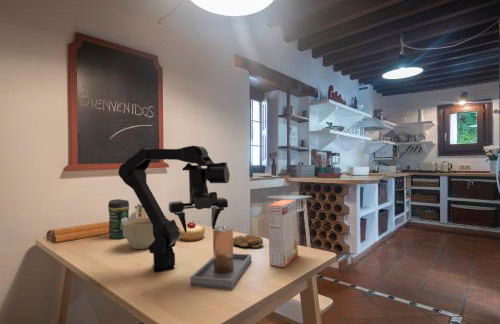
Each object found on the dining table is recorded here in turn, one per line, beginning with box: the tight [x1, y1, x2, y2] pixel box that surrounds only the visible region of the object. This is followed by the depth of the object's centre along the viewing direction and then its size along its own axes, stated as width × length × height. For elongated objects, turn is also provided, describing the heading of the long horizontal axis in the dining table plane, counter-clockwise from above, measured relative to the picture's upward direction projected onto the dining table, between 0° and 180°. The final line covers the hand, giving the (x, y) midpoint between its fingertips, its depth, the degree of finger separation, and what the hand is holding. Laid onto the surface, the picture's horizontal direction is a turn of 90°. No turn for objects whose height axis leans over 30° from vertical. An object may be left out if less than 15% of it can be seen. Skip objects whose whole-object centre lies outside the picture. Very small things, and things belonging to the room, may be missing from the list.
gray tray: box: [190, 252, 252, 291], centre depth 90 cm, size 13×22×2 cm, turn 166°
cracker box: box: [267, 198, 299, 268], centre depth 100 cm, size 14×6×21 cm, turn 152°
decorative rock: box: [233, 234, 264, 250], centre depth 119 cm, size 11×4×15 cm
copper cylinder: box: [212, 224, 234, 274], centre depth 90 cm, size 6×6×14 cm
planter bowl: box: [122, 217, 155, 250], centre depth 121 cm, size 16×16×11 cm
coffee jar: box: [107, 198, 130, 240], centre depth 137 cm, size 10×8×19 cm
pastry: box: [179, 219, 206, 242], centre depth 132 cm, size 12×12×9 cm
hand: (199, 230), depth 93 cm, fingers open, 9 cm apart
